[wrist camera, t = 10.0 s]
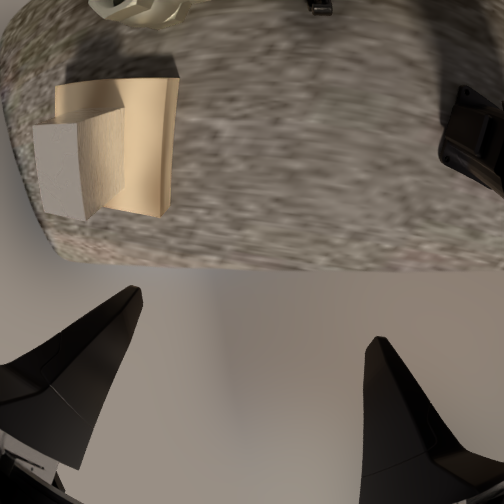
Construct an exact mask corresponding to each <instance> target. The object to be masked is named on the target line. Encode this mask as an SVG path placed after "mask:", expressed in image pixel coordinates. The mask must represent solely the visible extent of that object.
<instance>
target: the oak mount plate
mask: <svg viewBox="0 0 504 504" xmlns="http://www.w3.org/2000/svg"><path fill="white" fill-rule="evenodd" d="M179 80H180V78H161V77H142V78H116V79H102V80H91V81H82V82H74V83H68V84H63V85H59V86H55V117H57V116H60V115H63V114H66V113H69V112H72V111H75V110H78V109H81V108H125V120H124V178H125V188H124V189H123V190H122V191H120V192H119V193H118V194H117V195H116V196H114V197H113V198H112V199H111V200H110V201H108V202H107V203H106V204H105V205H104V206H103V207H107V208H113V209H118V210H123V211H128V212H133V213H138V214H143V215H148V216H153V217H158V218H161V216H162V215H163V214H164V213H165V212H166V210H167V209H168V208H169V207H170V196H171V170H172V153H173V138H174V126H175V115H176V105H177V96H178V88H179Z"/></svg>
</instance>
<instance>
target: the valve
mask: <svg viewBox="0 0 504 504" xmlns="http://www.w3.org/2000/svg"><path fill="white" fill-rule="evenodd" d="M206 1H210V0H89V2H88V4H89V5H90V6H91V8H92V9H93V10H94V11H95V12H96V13H97V14H99V15H100V16H101V17H102V18H103V19H107V20H113V21H119V22H120V23H122V24H124V25H126V26H129V27H134V28H145V27H147V28H151V29H155V30H160V29H163V28H166V27H170V26H173V25H176V24H180V23H183V22H184V20H185V18H186V16H187V14H188V11H189V9H190V7H191V5H192V4H197V3H201V2H206ZM307 6H308V10H309V11H312V14H313V15H319V16H331V15H332V3H331V0H307Z"/></svg>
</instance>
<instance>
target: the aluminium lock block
mask: <svg viewBox="0 0 504 504" xmlns="http://www.w3.org/2000/svg"><path fill="white" fill-rule="evenodd" d="M124 120H125V108H81V109H78V110H75V111H72V112H69V113H66V114H63V115H60V116H57V117H54V118H51V119H48V120H46V121H43V122H41V123H38V124H35V125H33V138H34V150H35V159H36V167H37V174H38V181H39V187H40V193H41V198H42V203H43V208H44V212H46V213H51V214H55V215H59V216H64V217H68V218H72V219H77V220H81V221H87V220H88V219H89V218H90V217H91V216H93V215H94V214H95V213H96V212H97V211H98V210H99V209H100V208H102V207H103V206H104V205H105V204H106V203H107V202H108V201H110V200H111V199H112V198H113V197H114V196H116V195H117V194H118V193H119V192H120V191H122V190H123V189H124V188H125V178H124Z"/></svg>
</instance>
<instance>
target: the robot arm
mask: <svg viewBox="0 0 504 504" xmlns="http://www.w3.org/2000/svg"><path fill="white" fill-rule="evenodd" d="M465 89H466V91H467V94H466V95H465V93H464V90H465ZM502 107H503V110H500V109H499V108H498V107H497V106H495V105H494V104H493V103H491V102H490V101H489V100H487V99H486V98H485V97H483V96H482V95H480V94H479V93H477V92H476V91H475V90H473V89H472V88H470V87H469V86H466V85H461V86H460V88H459V91H458V95H457V99H456V103H455V105H454V107H453V110H452V114H451V118H450V121H449V124H448V128H447V131H446V134H445V136H446V138H445V141H444V144H443V147H442V150H441V153H440V156H439V159H440V161H441V163H443V164H444V165H446V166H448V167H450V168H452V169H454V170H456V171H458V172H460V173H462V174H464V175H466V176H467V177H469V178H471V179H473V180H475V181H477V182H478V183H480V184H482V185H484V186H485V187H487V188H489V189H491V190H492V189H493V190H494V191H495V192H496V193H497V194H499V195H500V196H501V197H502V198H503V199H504V101H502ZM445 156H447V160H444V159H445ZM142 307H143V299H142V292H141V289H140V288H139V287H136V286H133V285H130V286H128V287H126V288H125V289H124V290H122V291H120V292H119V293H117V294H116V295H114V296H113V297H111V298H110V299H108V300H107V301H105V302H104V303H102V304H100V305H99V306H97V307H96V308H94V309H93V310H92V311H90V312H89V313H87V314H86V315H84V316H83V317H81V318H80V319H78V320H77V321H76V322H74V323H72V324H71V325H69V326H68V327H67V328H65V329H64V330H62V331H61V332H60V333H58V334H56V335H55V336H54V337H52V338H51V339H49V340H48V341H46V342H45V343H43V344H41V345H40V346H38V347H36V348H35V349H33V350H31V351H30V352H28V353H26V354H24V355H22V356H21V357H19V358H17V359H15V360H14V361H12V362H10V363H7V364H4V365H0V504H83V503H81V502H79V501H78V500H76V499H74V498H72V497H70V496H69V495H67V494H65V489H64V487H63V485H62V482H61V480H60V478H59V476H58V474H57V471H56V470H57V467H58V464H59V462H60V463H62V464H65V465H67V466H69V467H72V468H74V469H76V470H79V469H80V466H81V463H82V460H83V457H84V454H85V451H86V448H87V446H88V443H89V440H90V437H91V435H92V432H93V428H94V426H95V424H96V421H97V419H98V416H99V414H100V411H101V409H102V406H103V403H104V401H105V399H106V396H107V394H108V391H109V389H110V387H111V385H112V382H113V380H114V378H115V375H116V373H117V371H118V369H119V366H120V364H121V362H122V360H123V357H124V355H125V353H126V351H127V349H128V347H129V344H130V342H131V339H132V336H133V333H134V330H135V327H136V325H137V322H138V319H139V316H140V313H141V310H142ZM363 403H364V404H363V407H364V429H363V434H364V435H363V460H362V476H361V477H362V478H361V487H360V488H361V489H360V498H359V504H504V462H499V461H496V460H492V459H489V458H486V457H483V456H481V455H478V454H475V453H472V452H470V451H468V450H466V449H465V448H464V447H463V446H462V445H461V444H460V443H459V442H458V440H457V439H456V437H455V436H454V435H453V434H452V432H451V431H450V429H449V428H448V427H447V425H446V424H445V423H444V421H443V420H442V419H441V417H440V416H439V414H438V413H437V411H436V410H435V408H434V407H433V405H432V403H430V400H429V399H428V398H427V396H426V394H425V393H424V391H423V390H422V388H421V387H420V385H419V384H418V382H417V381H416V379H415V378H414V377H413V375H412V374H411V372H410V371H409V369H408V368H407V366H406V365H405V363H404V362H403V361H402V359H401V358H400V356H399V355H398V353H397V352H396V351H395V349H394V348H393V346H392V345H391V344H390V342H389V341H388V339H387V338H386V337H381V336H376V337H375V338H374V339H373V340H372V342H371V343H370V344H369V346H368V347H367V349H366V352H365V366H364V381H363Z"/></svg>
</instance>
